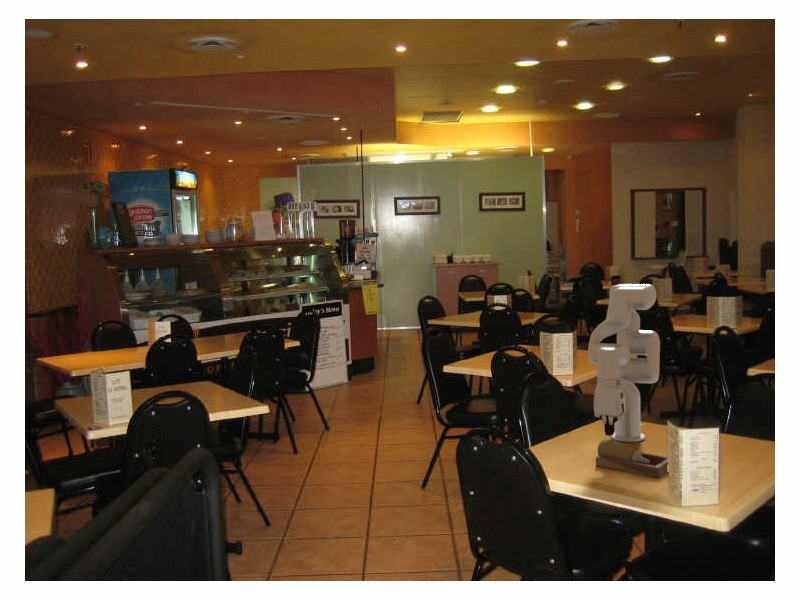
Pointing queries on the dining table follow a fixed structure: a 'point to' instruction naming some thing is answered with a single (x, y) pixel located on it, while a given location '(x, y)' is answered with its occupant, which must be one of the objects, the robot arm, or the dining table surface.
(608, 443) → the squeeze bottle
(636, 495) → the dining table surface
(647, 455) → the brown wooden tray
